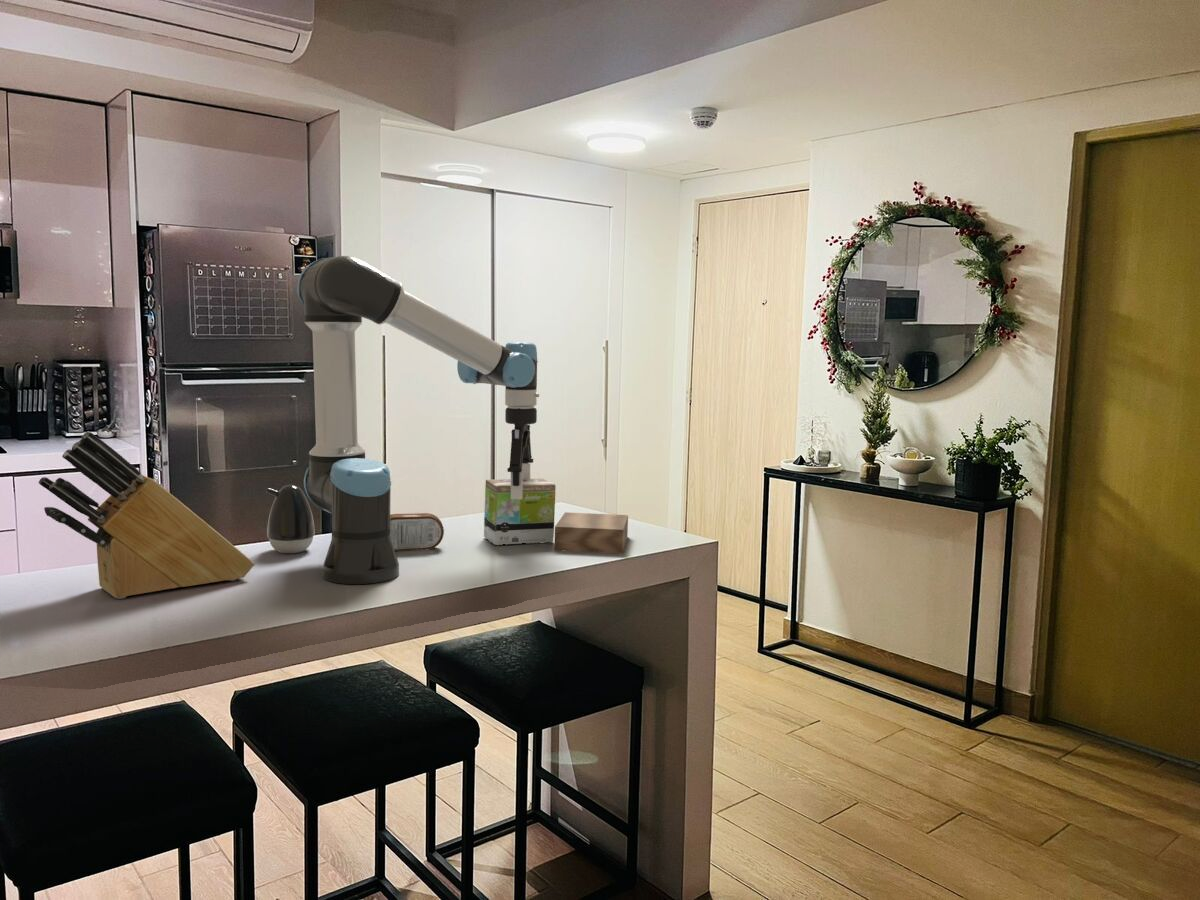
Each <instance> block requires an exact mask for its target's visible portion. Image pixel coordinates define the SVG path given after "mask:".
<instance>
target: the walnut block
mask: <svg viewBox="0 0 1200 900" xmlns="http://www.w3.org/2000/svg"><path fill="white" fill-rule="evenodd" d="M628 529H629V515H628V514H608V513H589V512H588V513H587V512H586V513H585V512H564V513H563V515H562V517H560V519H559V520H558V521H557V523H556V524H555V525H554V549H555V550H554V551H561V550H566V551H565V552H582V551H584V552H585V553H605V554H607V553H609V554H623V553H624V549H625V546H626V544H627V541H628V540H627V539H628V534H629V532H628V531H629V530H628Z"/></svg>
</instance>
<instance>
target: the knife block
mask: <svg viewBox="0 0 1200 900" xmlns="http://www.w3.org/2000/svg"><path fill="white" fill-rule="evenodd" d="M62 458H63V459H64V460H66V461H67V462H68V463H70V464H71V465H72V466H73V467H74V468H75V469H76V470H77V471H78V472H80V473H81V474H82V475H84V476H85V477H87V479H89V480H90V481H92V482H93V483H94V484H96V485H97V486H99V487H100V488H101V489H102V490H104V491H105V492H106V493H108V494H109V495H110V496H109V497H108V498H107V499H105V501H104V502H102V503H101V505H99V502H97V501H96V500H94V499H93V498H91V497H90V496H88V494H86V493H85V492H84V491H82V490H80V489H79V488H78V487H77V486H75V485H74V484H72V483H71V482H69V481H68V480H66V479H64V478H62V477H58V478H57V479H55V481H52V480H51V479H49V478H48V477H47V476H43V477H41V478H40V479H39V480H38V484H39V485H40V486H42V488H45V489H47V490H48V491H49V492H50V493H51V494H53V495H54V496H55V497H57V498H58V499H60V501H62V502H64V503H66V504H67V505H68V506H70V507H71V508H72V509H74V510H76V511H77V512H79V513H80V514H82V515H84V516H86V517H88V518H87V520H88V522H90V523H91V524H92V525H94V526H95V528H98V529H97V531H94V530H93V529H92V528H90V527H89V526H87V525H86V524H84V523H83V522H81V521H79V519H77V518H75V517H73V516H72V515H71V514H70V515H69V514H68V513H67V512H64V511H63V510H61V509H59V508H56V507H52V506H46V507H43V510H44V513H45V515H46V516H47V517H49V518H51V519H52V520H54V521H55V522H57V523H58V524H59V523H60V524H63V525H65V526H67V527H69V528H70V529H71V530H73V531H74V532H75V533H77V534H79V535H81V536H83V537H85V538H86V539H88V540H90V541H92V542H93V543H95V544H96V555H97V556H96V558H97V569H98V581H99V582H98V583H99V587H100V588H102V589H103V590H104V591H106V592H107V593H108V594H109V595H111V596H112V597H113V598H116V599H119V600H121V599H126V598H127V597H128V596H135V595H141V594H146V593H154V592H159V591H164V590H171V589H176V588H177V589H178V588H184V587H191V586H198V585H203V584H204V585H205V584H210V583H211V584H212V583H217V582H218V583H219V582H223V581H228V582H233V581H236V580H237V579H242V578H245V577H246V576H247V574H248V573H249V572H251V570H252V569H253V567H254V566H255V562H254V561H252V560H251V558H249V557H248V556H247V555H246V554H244V553H243V552H242V551H241V550H240V549H238V548H237V547H236V546H235V545H233V544H232V543H231V542H230V541H228V539H226V538H225V537H224V536H222V534H220V533H219V531H217V530H215V528H213V527H212V526H211V525H209V524H208V523H207V522H206V521H205V520H204V519H202V518H201V517H199V516H198V515H197V514H196V513H195V512H193V511H192V510H191V509H190V508H189V507H188V506H187V505H185V504H184V503H183V502H181V501H180V500H179V499H178V498H177V497H175V496H174V495H173V494H171V492H169V491H168V490H167V489H166V488H164V487H163V486H162V485H161V484H159V482H157V481H156V480H155V479H153V478H151V477H148V476H145V475H143V474H142V473H141V472H140V471H139V469H137V468H136V467H135V466H134V465H133V464H132V463H130V462H129V461H128V460H127V459H125V457H123V455H121V454H119V453H118V452H117V451H116V450H114V449H113V448H112V447H111V446H110V445H108V444H107V443H106V442H105V441H103V440H102V439H100V438H99V437H98V436H96V435H95V434H94V433H92V432H91V431H86V432H85V433H83V434H82V436H81V439H80V440H79V441H77V442H75V443H74V444H73V445H72V447H71V448H68V449H67V450H65V451H64V453H63V454H62Z"/></svg>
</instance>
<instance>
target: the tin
mask: <svg viewBox="0 0 1200 900" xmlns="http://www.w3.org/2000/svg"><path fill="white" fill-rule="evenodd" d="M444 534H445V529H444V526H443V523H442V521H441V520H440V518H439V517H438V516H437V515H434V514H433V513H427V512H424V513H419V512H417V513H393V514H390V538H391V541H392V544H393V547H394V550H395V552H402V551H407V550H408V551H426V550H425V549H429V550H433V549H434V548H436V547H437V546H439V544H440V543H441V542H442V540H443V539H444V536H445V535H444ZM422 549H423V550H422Z"/></svg>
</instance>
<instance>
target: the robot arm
mask: <svg viewBox="0 0 1200 900" xmlns="http://www.w3.org/2000/svg"><path fill="white" fill-rule="evenodd" d="M296 291H297V292H296V293H297V296H298V299H299V302H300V303H301V304H302V306H303V311H304V312H303V313H304V314H303V315H304V324H305V325H306V326H307V327H308V328H309V329H310V330H311V333H312V352H313V353H312V354H313V355H312V357H313V359H312V360H313V381H314V382H313V384H314V385H313V387H314V388H313V389H314V416H315V417H314V418H315V423H314V424H315V445H314V446H313V448H311V450H309V451H308V457H309V459H308V460H309V462H308V465H309V466H308V467H307V468H306V471H305V474H304V477H303V488H304V491H305V494H306V495H307V496H306V497H307V499H309V500H310V501H311V503H312V504H313V505H314V506H315V507H317V508H318V509H319V510H322V511H323V512H325V513H329V514H331V541H330V543H329V547H328V550H327V553H326V555H325V559H324V562H323V566H322V576H323V577H322V578H324V579H325V581H329V582H332V583H336V584H337V583H338V584H343V585H344V584H345V585H365V584H376V583H383V582H387V581H390V580H393V579H395V578H396V577H398V576H399V575H400V563H399V559H398V557H397V554H396V551H395V550H394V547H393V544H392V541H391V538H390V515H391V490H392V489H391V486H392V480H391V471H390V468H389V467H388V465H386V464H385V463H384V462H382V461H379V460H375V459H370V458H366V450H365V449H364V448H363V447H362V446H361V445H360V444H359V442H358V439H359V438H358V414H357V413H358V409H357V408H358V407H357V406H358V405H357V372H356V371H357V370H356V369H357V368H356V367H357V365H356V334H355V333H356V331H357V329H359V327H361V325H362V324H363V318H364V319H367V320H369V321H371V322H373V323H375V324H376V325H380V326H381V325H383V324H388V325H390V327H393V328H395V329H397V330H398V331H401V332H403V333H404V334H406V335H408V336H410V337H412V338H414V339H416V340H417V341H420V342H422V343H424V344H426V345H428V346H429V347H432V348H433V349H435V350H437V351H439V352H441V353H443V354H445V355H446V356H449V357H450V358H452V359H455V360H456V361H457V364H456V365H457V367H456V368H457V374H458V377H459V379H460V381H461V382H462V383H464V384H472V385H476V384H486V385H493V386H494V385H495V386H503V387H505V389H504V392H505V393H504V398H505V399H504V405H505V406H507V407H506V408H505V415H504V416H505V418H504V419H505V423H506V424H509V425H514V429H512V430H511V432H510V433H511V442H510V455H509V456H510V457H509V467H507V468H506V469H507V470H506V471H507V473H510V479H511V499H522V495H523V479H531V464H533V463H534V458H532V457H533V456H532V449H531V448H532V447H531V431H530V430H531V429H530V428H531V425H533V424H536V423H537V421H538V420H537V418H538V416H537V414H538V413H537V411H538V409H537V408H536V406H537V405H538V404H537V398H539V397H540V394H539V393H537V386H538V385H537V384H538V363H539V361H538V351H537V349H538V348H537V345H536V344H535V343H533V342H513V341H512V342H507V343H506V344H505V346H504V345H502V344H500V343H499V342H497V341H495V340H493V339H491V338H490V337H487V336H486V335H484V334H483V333H481V332H479V331H477V330H476V329H473V328H471V327H470V326H468V325H466V324H465V323H463V322H461V321H459V320H458V319H456V318H454V317H452V316H450V315H448V314H446V313H445V312H443V311H441V310H439V308H436V307H434V306H433V305H431V304H429V303H428V302H425V301H423V300H422V299H420V298H418V297H417V296H415V295H413V294H411V293H410V292H407V291H406V290H404V287H403V285H402V283H401V282H400V281H398V280H396V279H395V278H393V277H391V276H389V275H388V274H387V273H384V272H383V271H381V270H379V269H378V268H377V267H375V266H373V265H372V264H370V263H367V262H366V261H364V260H361V259H360V258H357V257H354V256H350V255H340V256H338V255H337V256H335V257H333V256H332V257H322V258H319V259H317V260H315V261H313V262H311V263H309V264H308V265H307V266H306V267H304V269H303V270H302V271H301V273H300V274H299V277H298V279H297V286H296Z"/></svg>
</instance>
